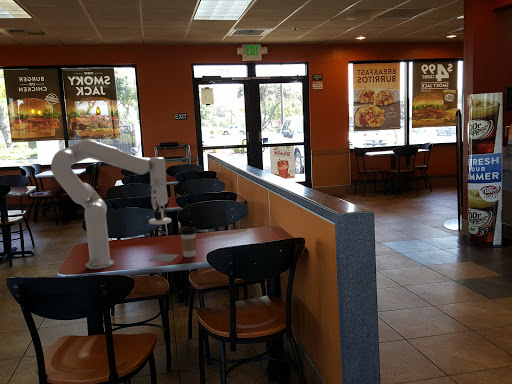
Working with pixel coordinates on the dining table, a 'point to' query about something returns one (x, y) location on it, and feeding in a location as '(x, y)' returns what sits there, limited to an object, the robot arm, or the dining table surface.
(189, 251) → the coffee cup
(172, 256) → the mat
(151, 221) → the lid
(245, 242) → the dining table surface
